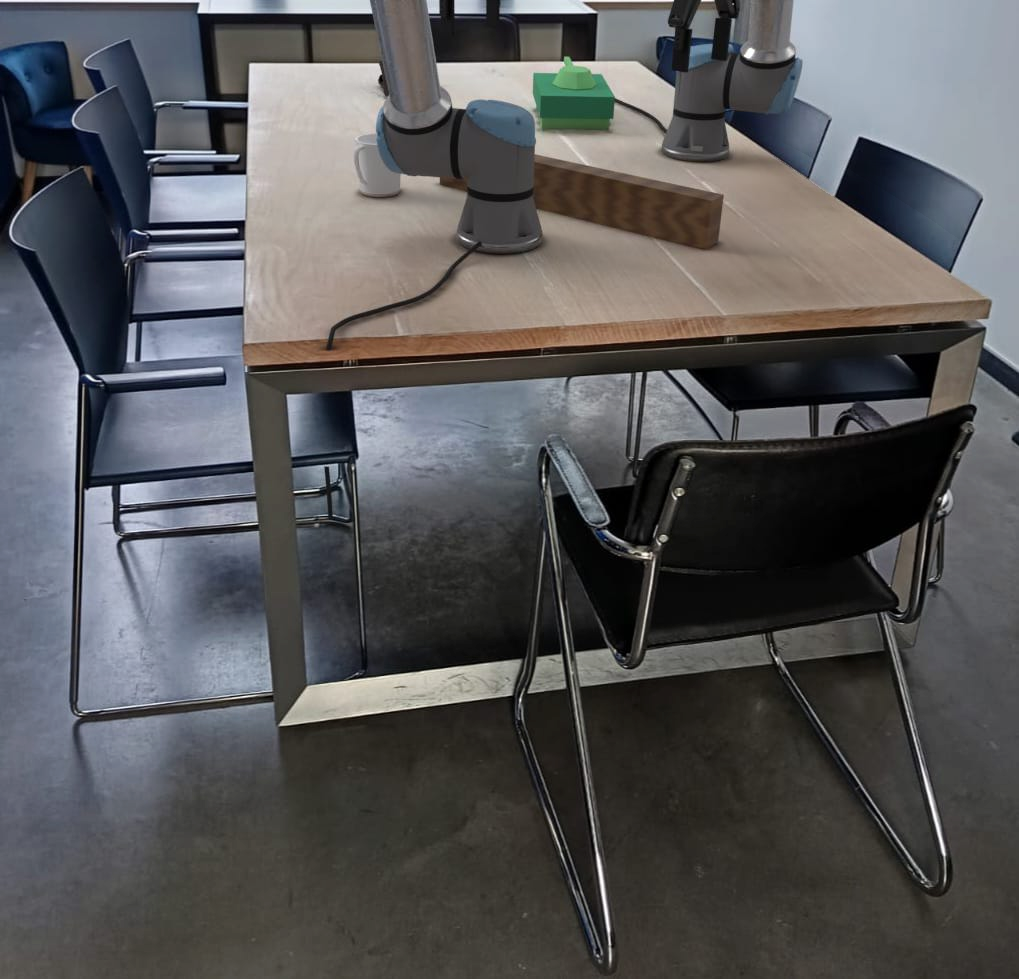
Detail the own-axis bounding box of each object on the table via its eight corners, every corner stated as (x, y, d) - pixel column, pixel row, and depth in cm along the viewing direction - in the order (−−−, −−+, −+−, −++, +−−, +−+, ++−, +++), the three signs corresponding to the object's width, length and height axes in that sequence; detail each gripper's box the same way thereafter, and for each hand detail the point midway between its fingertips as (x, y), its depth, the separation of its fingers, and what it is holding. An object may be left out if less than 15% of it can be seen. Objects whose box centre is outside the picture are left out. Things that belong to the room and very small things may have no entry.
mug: (380, 182, 225) (378, 131, 219) (411, 190, 220) (410, 138, 215) (340, 193, 218) (337, 140, 212) (372, 202, 213) (370, 149, 207)
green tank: (599, 53, 287) (616, 80, 258) (595, 101, 294) (612, 133, 264) (532, 51, 286) (541, 79, 257) (530, 100, 293) (539, 132, 263)
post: (439, 184, 225) (438, 141, 220) (454, 179, 228) (453, 136, 224) (705, 249, 194) (711, 200, 189) (718, 243, 197) (724, 194, 192)
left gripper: (442, -92, 186) (443, 41, 197) (528, -97, 203) (525, 25, 214) (409, -94, 190) (412, 36, 201) (496, -100, 207) (495, 21, 218)
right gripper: (697, -72, 161) (682, 79, 172) (771, -80, 178) (753, 58, 190) (653, -75, 165) (641, 73, 176) (730, -83, 182) (715, 52, 193)
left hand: (470, 31), depth 208 cm, fingers open, 13 cm apart
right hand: (699, 65), depth 183 cm, fingers open, 13 cm apart
